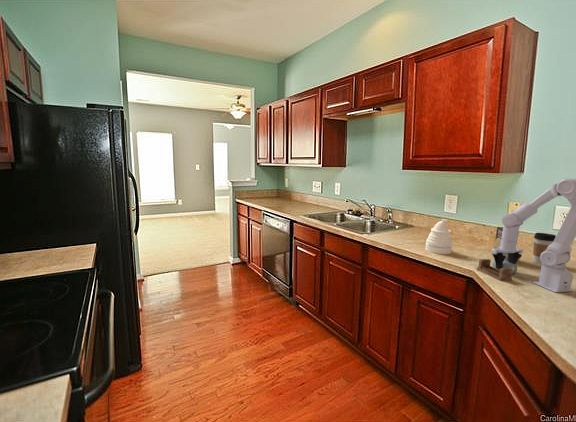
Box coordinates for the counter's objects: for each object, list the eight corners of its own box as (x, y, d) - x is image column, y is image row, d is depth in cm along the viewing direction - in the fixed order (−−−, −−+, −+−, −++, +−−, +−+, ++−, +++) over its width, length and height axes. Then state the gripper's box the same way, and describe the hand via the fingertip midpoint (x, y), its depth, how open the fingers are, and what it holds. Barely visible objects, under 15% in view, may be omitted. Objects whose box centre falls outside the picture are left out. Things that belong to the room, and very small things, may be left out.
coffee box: (491, 255, 162) (496, 226, 159) (505, 256, 160) (510, 227, 157) (500, 261, 153) (505, 230, 150) (514, 262, 151) (519, 231, 148)
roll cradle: (487, 269, 142) (489, 258, 141) (511, 279, 129) (513, 268, 128) (476, 269, 140) (478, 259, 140) (499, 280, 128) (501, 269, 127)
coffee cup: (543, 266, 147) (548, 236, 145) (525, 260, 155) (530, 232, 153) (555, 264, 150) (561, 235, 147) (537, 259, 158) (542, 231, 155)
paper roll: (516, 274, 136) (518, 264, 135) (506, 274, 135) (509, 264, 134) (500, 268, 144) (502, 258, 143) (491, 268, 143) (493, 258, 142)
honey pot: (456, 253, 164) (460, 221, 161) (437, 255, 161) (441, 222, 157) (438, 246, 176) (442, 216, 173) (420, 247, 173) (423, 217, 169)
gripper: (514, 237, 142) (510, 264, 144) (488, 237, 139) (483, 265, 142) (529, 241, 135) (523, 270, 137) (501, 242, 132) (496, 271, 135)
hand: (504, 268), depth 139 cm, fingers open, 6 cm apart
